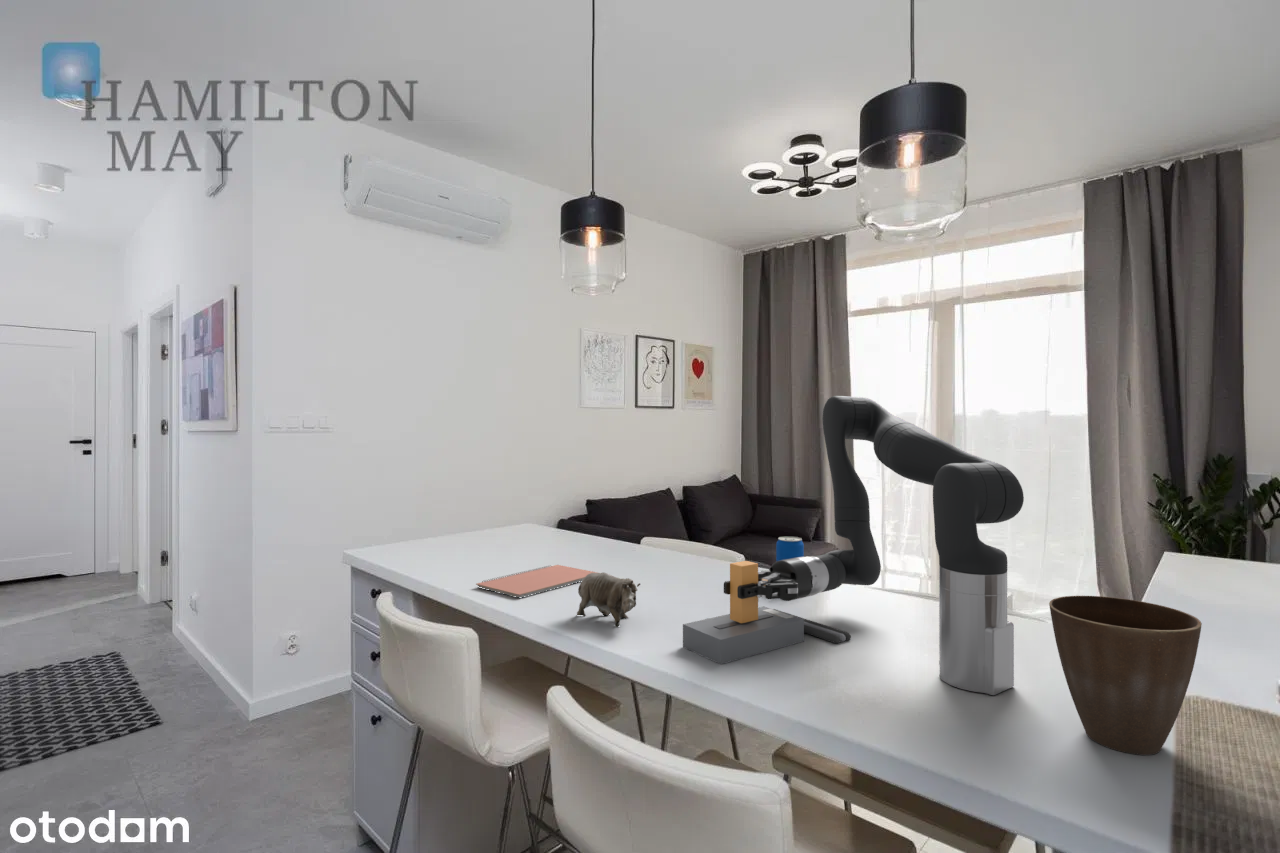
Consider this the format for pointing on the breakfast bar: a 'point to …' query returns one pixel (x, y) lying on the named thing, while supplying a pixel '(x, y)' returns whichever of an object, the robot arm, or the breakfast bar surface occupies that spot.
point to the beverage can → (789, 548)
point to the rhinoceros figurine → (607, 595)
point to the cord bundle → (824, 631)
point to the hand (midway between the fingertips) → (732, 590)
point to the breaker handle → (739, 607)
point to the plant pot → (1125, 667)
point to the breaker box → (742, 635)
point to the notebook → (535, 580)
